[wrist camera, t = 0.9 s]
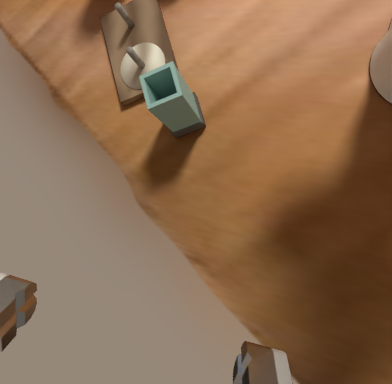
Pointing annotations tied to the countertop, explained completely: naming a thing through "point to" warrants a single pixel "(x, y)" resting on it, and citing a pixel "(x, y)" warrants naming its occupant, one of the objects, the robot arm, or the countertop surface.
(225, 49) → the countertop surface
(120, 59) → the pin board
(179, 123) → the teal sleeve
